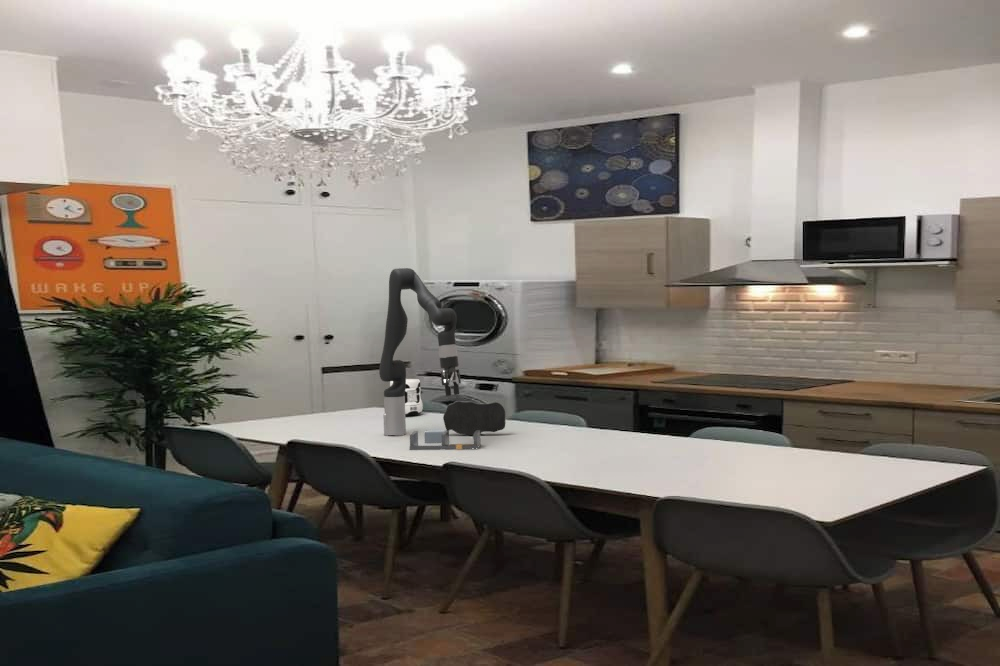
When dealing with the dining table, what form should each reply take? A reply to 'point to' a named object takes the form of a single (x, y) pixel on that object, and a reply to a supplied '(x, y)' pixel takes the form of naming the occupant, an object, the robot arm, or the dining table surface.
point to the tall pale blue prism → (433, 436)
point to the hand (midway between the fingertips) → (452, 395)
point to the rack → (444, 442)
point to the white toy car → (412, 397)
